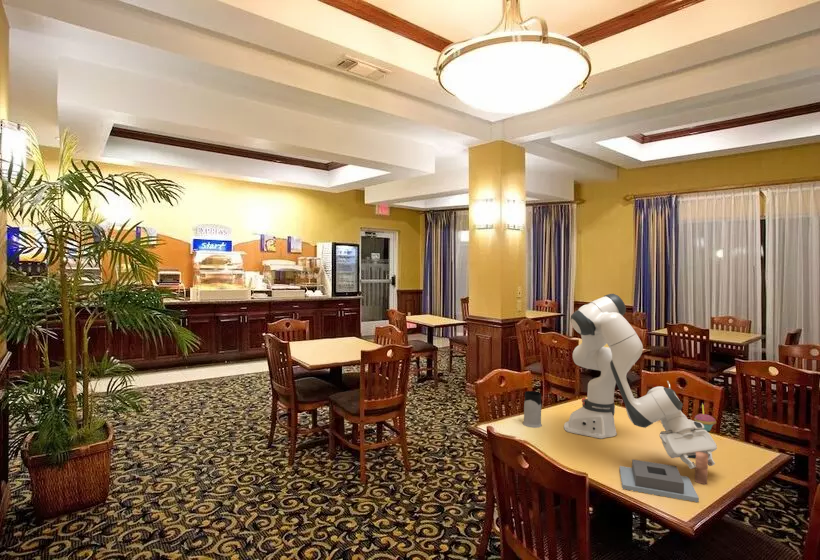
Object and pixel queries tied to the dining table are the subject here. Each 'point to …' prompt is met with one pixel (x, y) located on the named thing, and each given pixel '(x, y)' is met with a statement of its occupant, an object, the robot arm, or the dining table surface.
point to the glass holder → (532, 409)
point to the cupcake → (705, 420)
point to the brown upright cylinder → (701, 468)
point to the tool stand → (657, 480)
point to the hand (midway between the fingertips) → (702, 466)
